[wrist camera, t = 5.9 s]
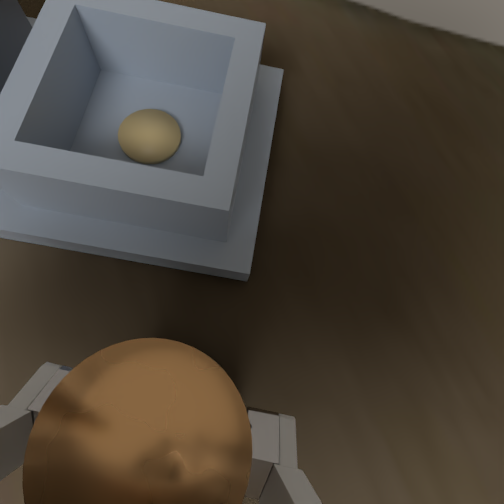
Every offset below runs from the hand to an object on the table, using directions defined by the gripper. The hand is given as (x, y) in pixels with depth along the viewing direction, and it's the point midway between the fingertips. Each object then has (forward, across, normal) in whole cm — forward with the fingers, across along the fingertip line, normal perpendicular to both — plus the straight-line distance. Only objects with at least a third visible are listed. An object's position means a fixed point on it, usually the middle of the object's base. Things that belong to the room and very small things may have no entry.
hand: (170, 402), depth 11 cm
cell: (+3, 0, +4) cm, 5 cm away
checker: (+11, +9, -4) cm, 15 cm away
